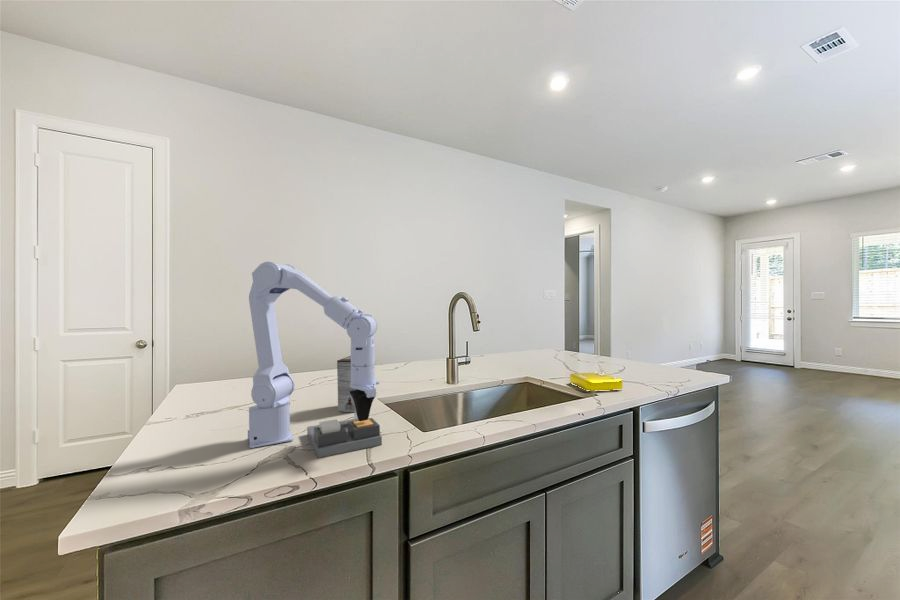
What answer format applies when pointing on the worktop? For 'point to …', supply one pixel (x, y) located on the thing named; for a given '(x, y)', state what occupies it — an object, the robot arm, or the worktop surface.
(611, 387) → the element tile
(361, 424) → the orange button
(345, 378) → the coffee box
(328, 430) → the grey button
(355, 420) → the paddle
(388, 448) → the worktop surface
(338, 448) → the panel
